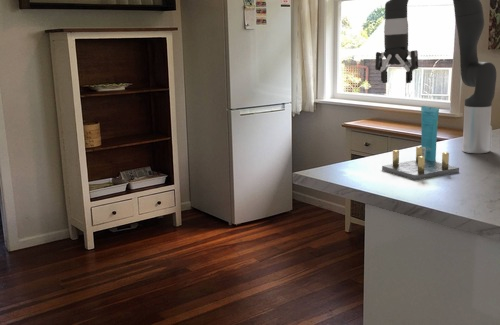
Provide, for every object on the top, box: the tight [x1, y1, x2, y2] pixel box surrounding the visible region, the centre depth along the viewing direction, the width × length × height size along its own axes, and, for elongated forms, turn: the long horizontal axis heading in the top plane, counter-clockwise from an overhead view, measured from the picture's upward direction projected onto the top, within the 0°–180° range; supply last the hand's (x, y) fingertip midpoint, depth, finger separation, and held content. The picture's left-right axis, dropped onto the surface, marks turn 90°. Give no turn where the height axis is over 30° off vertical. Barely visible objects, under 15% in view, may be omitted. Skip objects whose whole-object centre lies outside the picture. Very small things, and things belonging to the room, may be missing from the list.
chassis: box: [381, 146, 460, 181], centre depth 176 cm, size 18×16×6 cm
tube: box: [420, 105, 440, 162], centre depth 189 cm, size 7×5×19 cm, turn 39°
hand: (396, 82), depth 180 cm, fingers open, 8 cm apart
